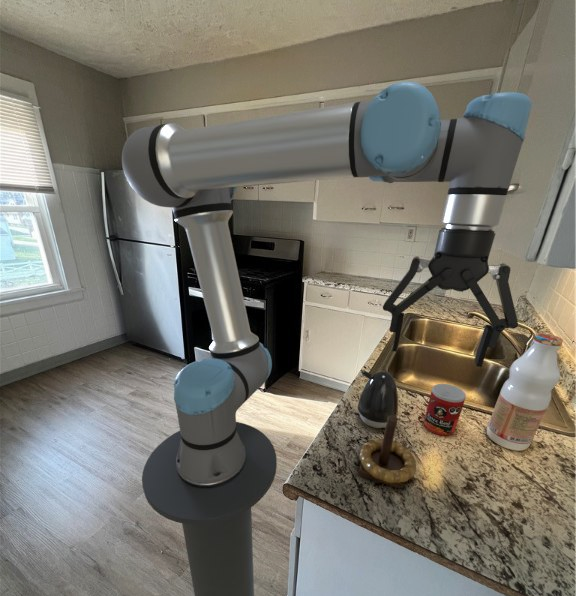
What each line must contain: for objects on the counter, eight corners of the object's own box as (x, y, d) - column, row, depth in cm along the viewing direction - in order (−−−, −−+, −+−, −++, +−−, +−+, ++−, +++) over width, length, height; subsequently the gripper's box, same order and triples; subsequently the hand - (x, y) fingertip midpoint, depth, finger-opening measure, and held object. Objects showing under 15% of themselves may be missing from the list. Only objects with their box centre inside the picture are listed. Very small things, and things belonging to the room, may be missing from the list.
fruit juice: (477, 433, 81) (513, 332, 69) (499, 423, 85) (536, 326, 73) (515, 456, 74) (563, 349, 62) (536, 444, 78) (586, 341, 66)
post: (358, 475, 67) (366, 425, 62) (365, 448, 75) (373, 401, 69) (401, 489, 64) (415, 438, 59) (404, 459, 72) (416, 411, 66)
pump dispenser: (360, 406, 90) (367, 359, 84) (397, 416, 87) (407, 368, 80) (351, 426, 82) (358, 376, 76) (391, 438, 78) (403, 386, 72)
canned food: (418, 427, 83) (427, 391, 78) (429, 413, 88) (438, 380, 83) (449, 440, 78) (461, 404, 73) (458, 425, 84) (469, 390, 79)
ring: (354, 474, 66) (355, 465, 65) (364, 439, 76) (365, 431, 75) (413, 493, 62) (416, 484, 61) (416, 453, 72) (418, 445, 71)
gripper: (560, 231, 46) (511, 360, 55) (384, 222, 54) (367, 336, 63) (581, 234, 39) (522, 380, 48) (378, 224, 48) (360, 350, 57)
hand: (434, 355), depth 56 cm, fingers open, 13 cm apart
